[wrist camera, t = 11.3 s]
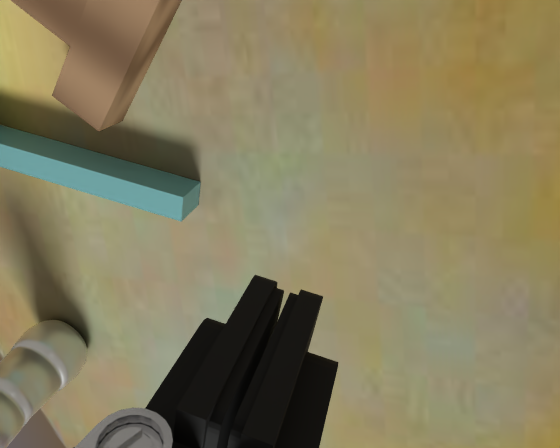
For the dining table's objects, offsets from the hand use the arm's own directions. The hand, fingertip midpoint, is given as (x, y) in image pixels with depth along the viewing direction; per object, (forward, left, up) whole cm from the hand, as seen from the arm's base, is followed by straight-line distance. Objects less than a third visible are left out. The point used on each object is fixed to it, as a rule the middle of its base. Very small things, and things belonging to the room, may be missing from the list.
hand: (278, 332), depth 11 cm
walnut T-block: (-3, -21, -22) cm, 30 cm away
